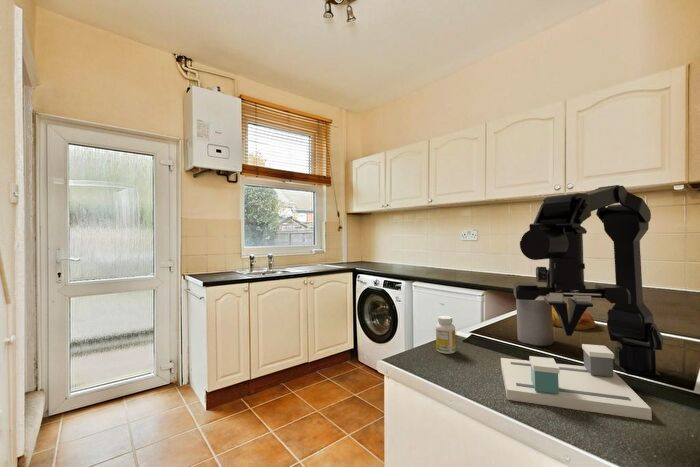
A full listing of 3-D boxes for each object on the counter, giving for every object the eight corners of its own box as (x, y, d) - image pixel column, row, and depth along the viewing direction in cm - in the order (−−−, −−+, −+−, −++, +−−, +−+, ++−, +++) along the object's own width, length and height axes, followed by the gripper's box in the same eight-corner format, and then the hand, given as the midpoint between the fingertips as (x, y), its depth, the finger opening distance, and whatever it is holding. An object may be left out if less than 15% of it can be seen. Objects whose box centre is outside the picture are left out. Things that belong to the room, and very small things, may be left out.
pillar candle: (545, 336, 105) (543, 289, 105) (559, 346, 95) (557, 295, 95) (513, 336, 106) (511, 290, 107) (523, 345, 97) (521, 295, 97)
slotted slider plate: (612, 378, 74) (611, 368, 74) (651, 420, 57) (651, 408, 57) (500, 365, 82) (500, 357, 82) (507, 399, 66) (506, 389, 66)
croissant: (538, 326, 124) (534, 305, 125) (580, 319, 124) (576, 298, 124) (561, 336, 110) (557, 313, 110) (608, 329, 109) (603, 306, 110)
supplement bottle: (449, 346, 97) (448, 314, 97) (459, 352, 92) (458, 318, 92) (433, 348, 96) (432, 315, 96) (442, 355, 91) (441, 320, 91)
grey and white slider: (605, 367, 74) (604, 345, 74) (614, 377, 69) (614, 353, 69) (582, 365, 76) (581, 343, 76) (590, 374, 71) (589, 351, 71)
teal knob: (554, 382, 68) (553, 358, 68) (560, 394, 62) (559, 368, 63) (530, 379, 69) (529, 356, 69) (534, 391, 64) (533, 365, 64)
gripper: (607, 254, 69) (610, 328, 69) (510, 255, 76) (512, 322, 76) (630, 258, 59) (633, 345, 58) (515, 258, 65) (517, 336, 65)
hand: (568, 335), depth 65 cm, fingers closed
